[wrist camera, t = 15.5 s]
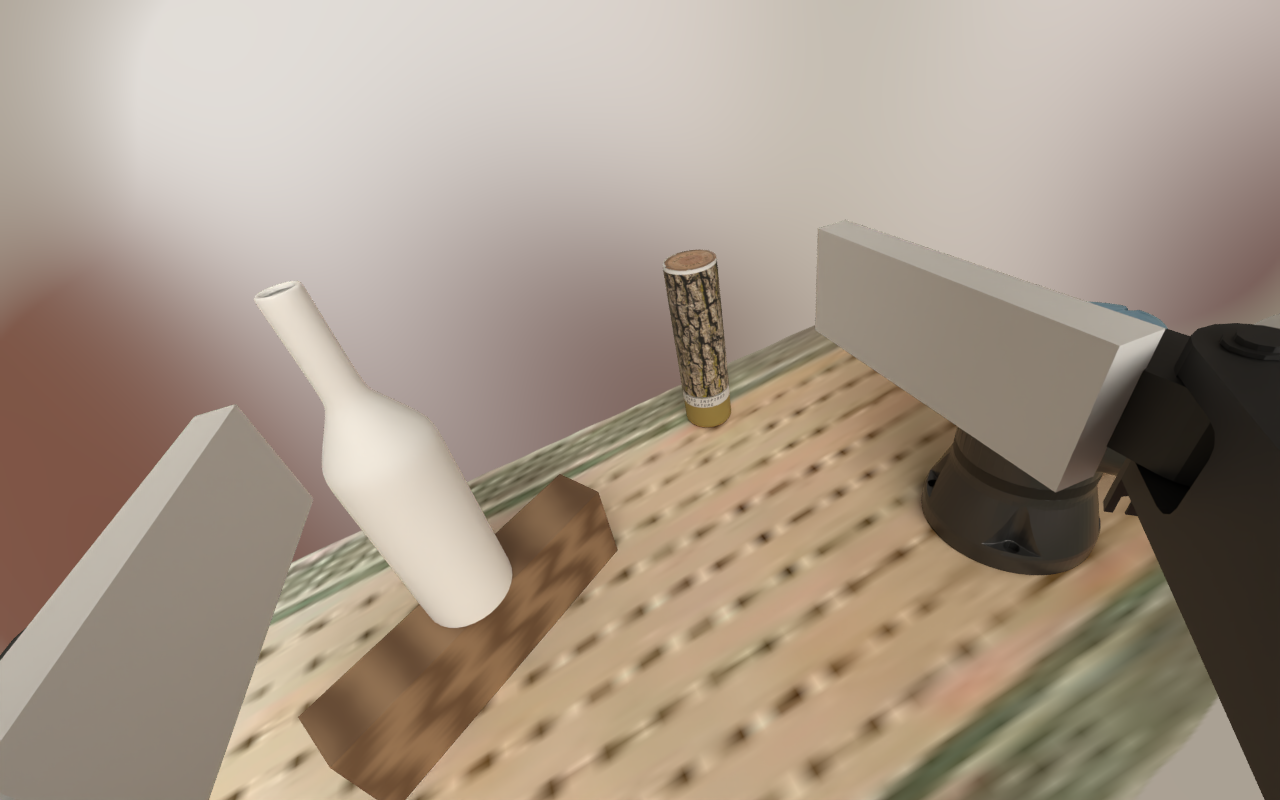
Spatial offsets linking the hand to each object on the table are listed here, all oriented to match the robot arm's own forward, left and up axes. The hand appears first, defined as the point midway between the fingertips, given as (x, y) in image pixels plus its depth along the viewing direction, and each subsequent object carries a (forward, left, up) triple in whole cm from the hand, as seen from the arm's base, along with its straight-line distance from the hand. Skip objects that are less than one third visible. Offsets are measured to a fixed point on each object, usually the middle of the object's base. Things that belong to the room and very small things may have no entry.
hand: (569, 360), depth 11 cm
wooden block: (+14, -23, -42) cm, 50 cm away
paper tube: (-20, -47, -42) cm, 66 cm away
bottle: (+14, -23, -32) cm, 42 cm away
